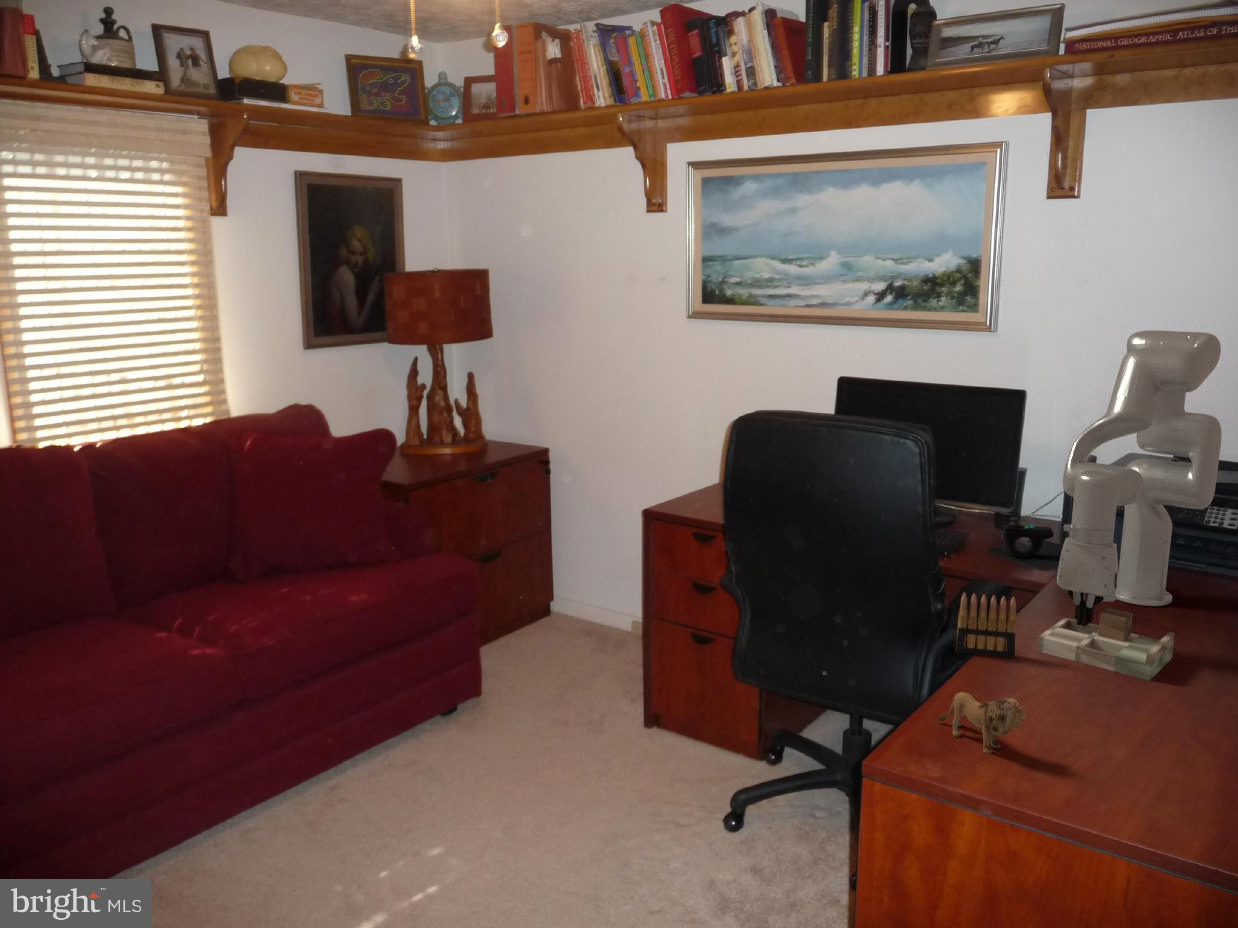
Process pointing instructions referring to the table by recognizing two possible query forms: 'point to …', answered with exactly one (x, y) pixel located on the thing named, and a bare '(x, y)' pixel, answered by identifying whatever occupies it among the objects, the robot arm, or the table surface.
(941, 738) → the table surface
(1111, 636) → the walnut block
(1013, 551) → the controller
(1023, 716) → the lion figurine
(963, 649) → the ammunition clip
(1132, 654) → the divided compartment tray
